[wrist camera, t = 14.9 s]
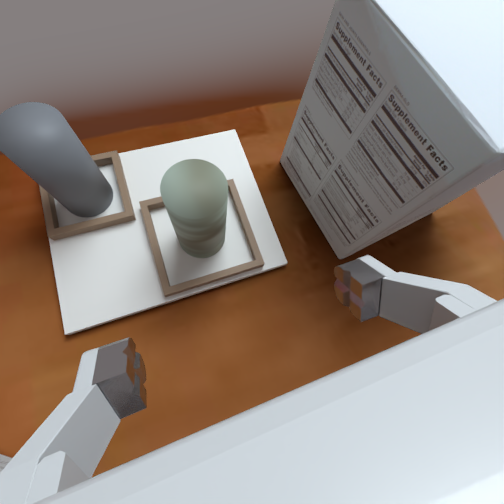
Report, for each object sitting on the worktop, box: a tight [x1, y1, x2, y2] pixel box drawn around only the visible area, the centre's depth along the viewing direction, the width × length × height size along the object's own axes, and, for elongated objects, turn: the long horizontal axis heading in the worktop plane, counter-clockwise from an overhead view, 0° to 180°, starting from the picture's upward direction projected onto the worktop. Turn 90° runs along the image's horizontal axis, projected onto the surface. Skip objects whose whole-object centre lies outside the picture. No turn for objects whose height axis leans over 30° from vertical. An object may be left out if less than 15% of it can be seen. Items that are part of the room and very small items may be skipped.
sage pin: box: [160, 159, 228, 258], centre depth 23 cm, size 4×4×9 cm
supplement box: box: [280, 0, 504, 259], centre depth 24 cm, size 13×13×18 cm
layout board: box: [0, 102, 287, 335], centre depth 23 cm, size 20×16×10 cm
